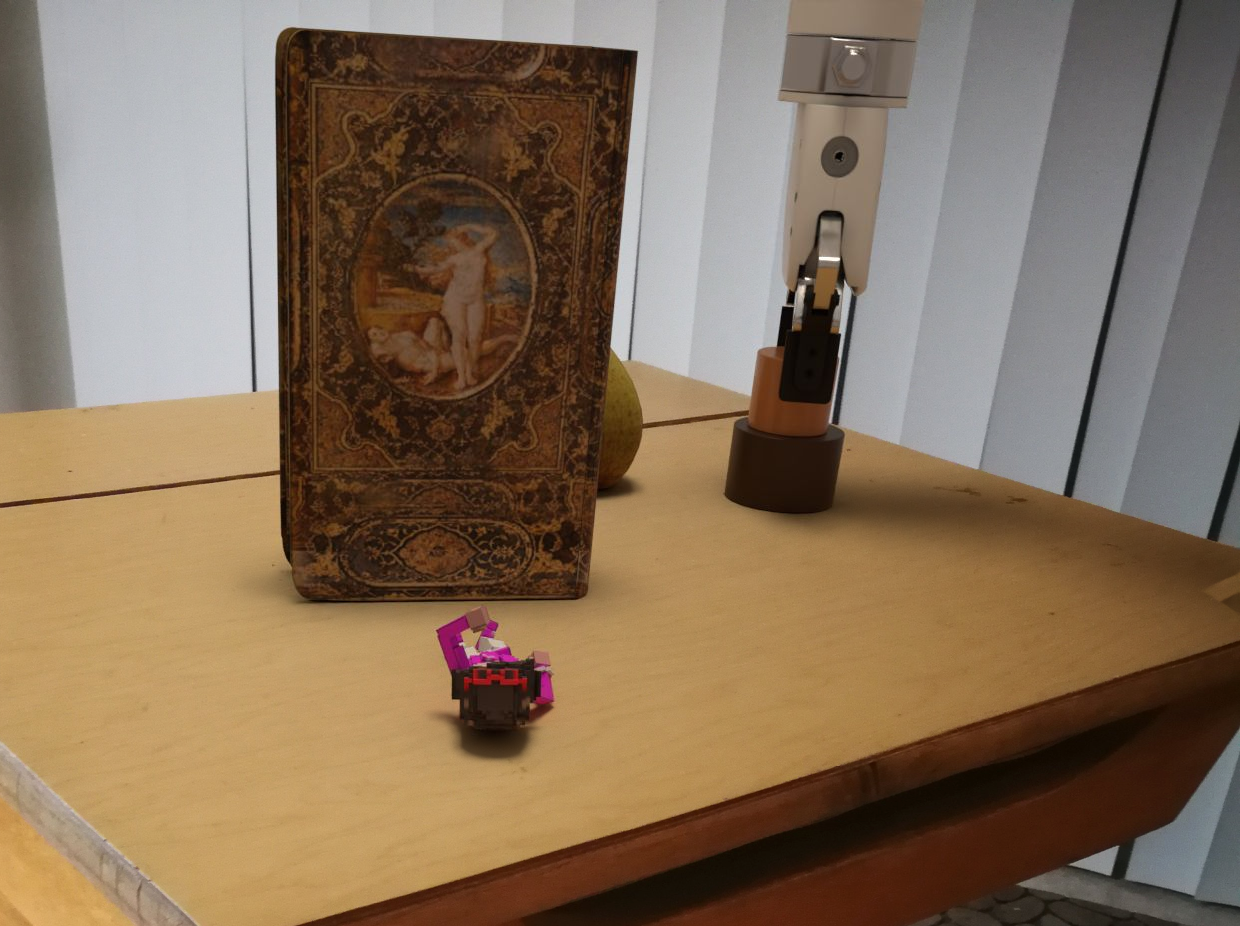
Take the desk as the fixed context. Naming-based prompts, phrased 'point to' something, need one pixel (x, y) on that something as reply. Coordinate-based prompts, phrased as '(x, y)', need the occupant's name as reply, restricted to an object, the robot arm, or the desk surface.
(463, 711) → the character figurine
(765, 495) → the cylinder
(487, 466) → the book
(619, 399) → the fruit
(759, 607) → the desk surface
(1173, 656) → the desk surface
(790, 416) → the top cylinder
